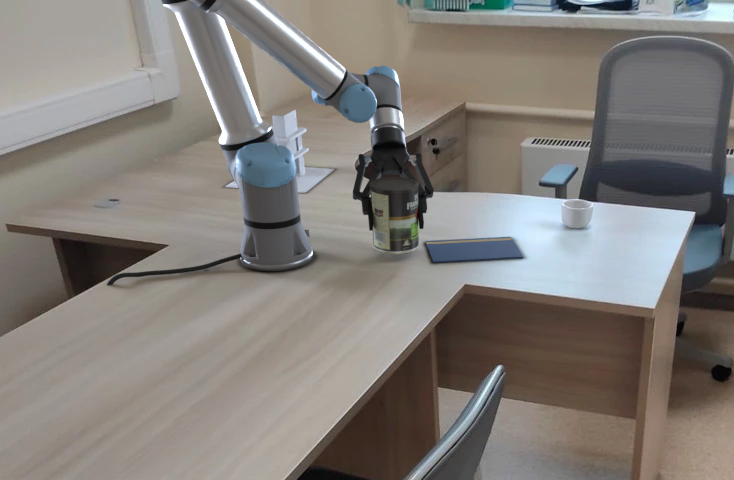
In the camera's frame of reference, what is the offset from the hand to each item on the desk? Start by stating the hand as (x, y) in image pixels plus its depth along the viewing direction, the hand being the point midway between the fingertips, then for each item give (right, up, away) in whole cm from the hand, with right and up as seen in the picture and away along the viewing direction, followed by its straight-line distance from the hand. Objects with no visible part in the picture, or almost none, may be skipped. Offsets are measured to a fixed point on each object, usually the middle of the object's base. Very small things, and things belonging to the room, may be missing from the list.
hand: (396, 226), depth 180 cm
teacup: (+41, +6, +27) cm, 49 cm away
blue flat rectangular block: (+16, -3, +10) cm, 19 cm away
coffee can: (-1, -3, +5) cm, 6 cm away
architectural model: (-39, +25, +55) cm, 72 cm away
